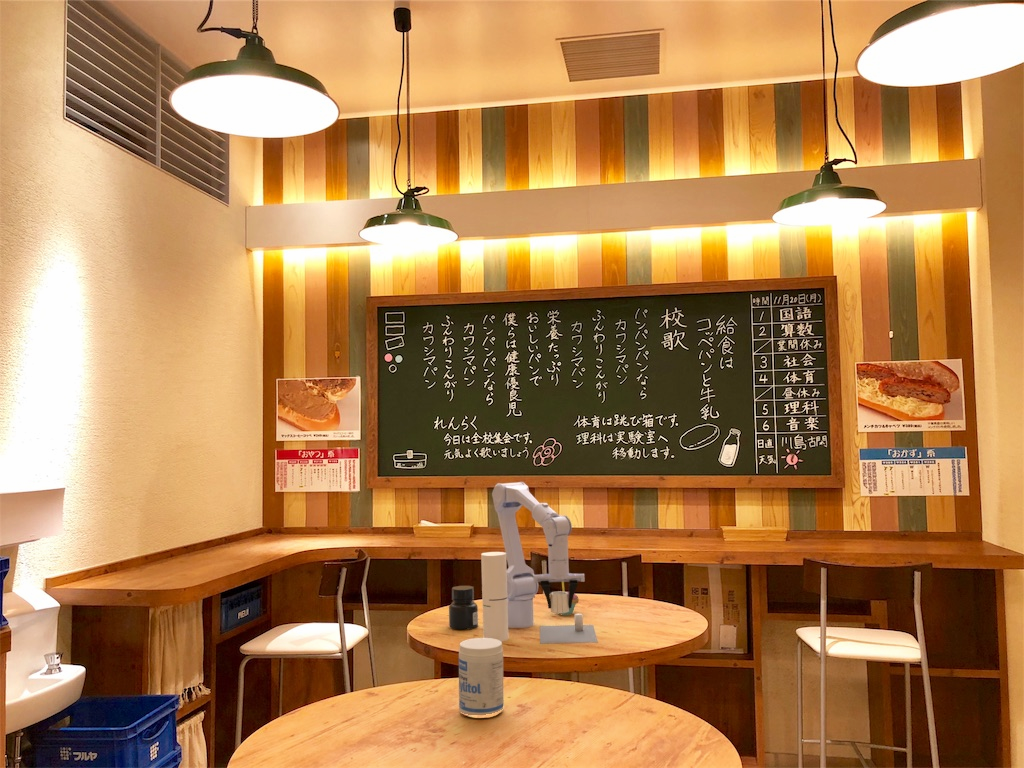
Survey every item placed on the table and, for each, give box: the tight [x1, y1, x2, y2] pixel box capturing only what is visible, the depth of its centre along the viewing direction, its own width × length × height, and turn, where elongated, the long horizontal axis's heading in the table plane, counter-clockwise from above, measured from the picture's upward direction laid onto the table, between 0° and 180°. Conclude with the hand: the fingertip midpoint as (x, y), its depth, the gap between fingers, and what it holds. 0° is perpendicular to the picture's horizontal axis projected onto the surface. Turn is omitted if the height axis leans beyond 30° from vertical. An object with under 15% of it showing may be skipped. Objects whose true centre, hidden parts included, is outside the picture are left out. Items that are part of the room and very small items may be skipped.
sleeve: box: [550, 590, 569, 614], centre depth 230 cm, size 5×5×5 cm
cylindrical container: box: [480, 551, 510, 643], centre depth 230 cm, size 7×7×25 cm
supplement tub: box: [458, 637, 505, 715], centre depth 173 cm, size 10×10×15 cm
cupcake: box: [557, 582, 580, 616], centre depth 263 cm, size 9×8×12 cm
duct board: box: [539, 613, 599, 645], centre depth 233 cm, size 16×20×6 cm
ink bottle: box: [448, 585, 479, 631], centre depth 249 cm, size 10×9×12 cm
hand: (559, 607), depth 230 cm, fingers closed on sleeve, 5 cm apart
